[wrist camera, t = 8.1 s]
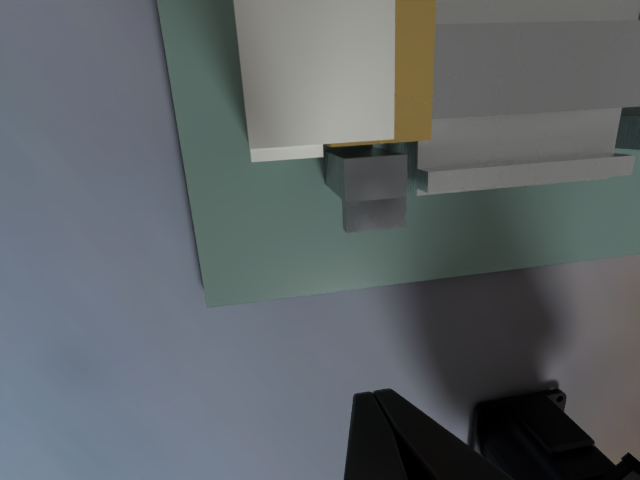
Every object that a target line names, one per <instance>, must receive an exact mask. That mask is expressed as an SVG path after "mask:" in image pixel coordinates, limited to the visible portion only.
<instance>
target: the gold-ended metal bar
mask: <svg viewBox="0 0 640 480" xmlns="http://www.w3.org/2000/svg"><path fill="white" fill-rule="evenodd" d="M435 18H436V0H395V98H394V139H391V140H376V141H361V142H347V143H332V144H325V145H326V146H329V147H341V146H356V145H370V144H384V143H399V142H413V141H427V140H431V127H432V119H442V118H459V117H475V116H492V115H508V114H525V113H541V112H558V111H574V110H591V109H607V108H624V107H640V20H616V21H566V22H515V23H465V24H435Z"/></svg>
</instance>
